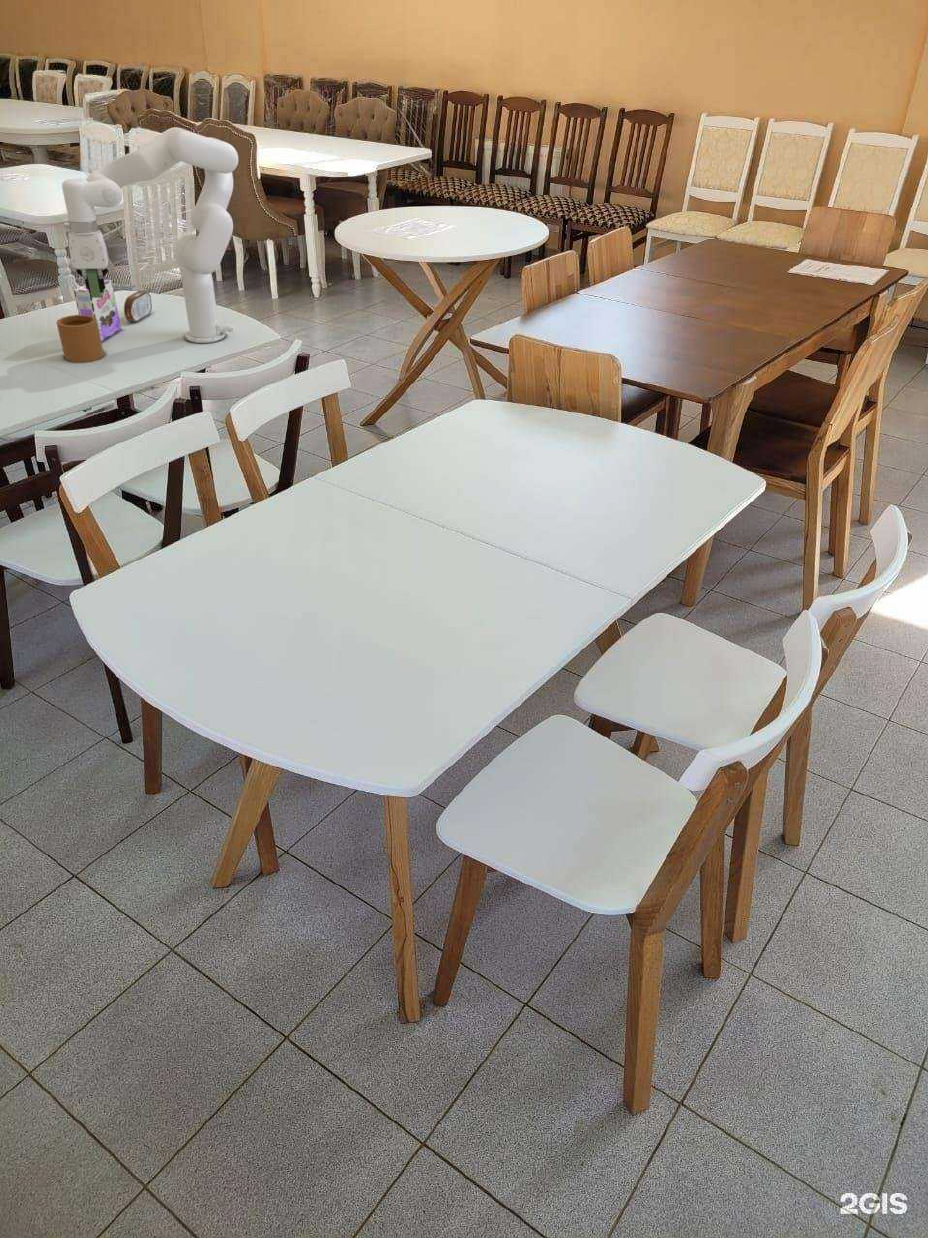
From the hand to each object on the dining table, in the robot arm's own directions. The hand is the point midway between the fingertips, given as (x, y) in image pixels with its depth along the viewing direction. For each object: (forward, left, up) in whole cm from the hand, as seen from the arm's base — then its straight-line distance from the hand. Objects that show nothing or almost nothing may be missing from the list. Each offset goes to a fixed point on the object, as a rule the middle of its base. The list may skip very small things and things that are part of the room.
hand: (96, 290), depth 274 cm
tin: (-6, -36, -20) cm, 41 cm away
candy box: (+4, -19, -20) cm, 28 cm away
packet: (0, 0, -1) cm, 1 cm away
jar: (+7, 0, -19) cm, 21 cm away
